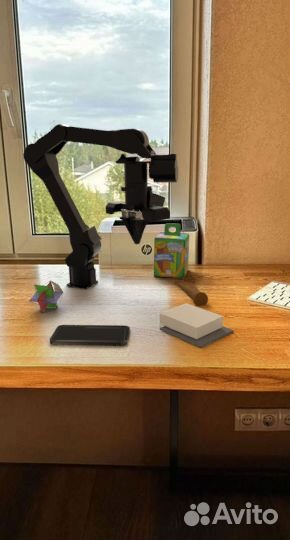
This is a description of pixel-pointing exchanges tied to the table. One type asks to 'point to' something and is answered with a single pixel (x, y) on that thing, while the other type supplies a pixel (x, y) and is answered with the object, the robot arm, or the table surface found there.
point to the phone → (90, 335)
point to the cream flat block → (191, 320)
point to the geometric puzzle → (47, 295)
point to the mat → (203, 340)
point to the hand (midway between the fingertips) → (137, 243)
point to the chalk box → (171, 252)
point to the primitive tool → (192, 291)
